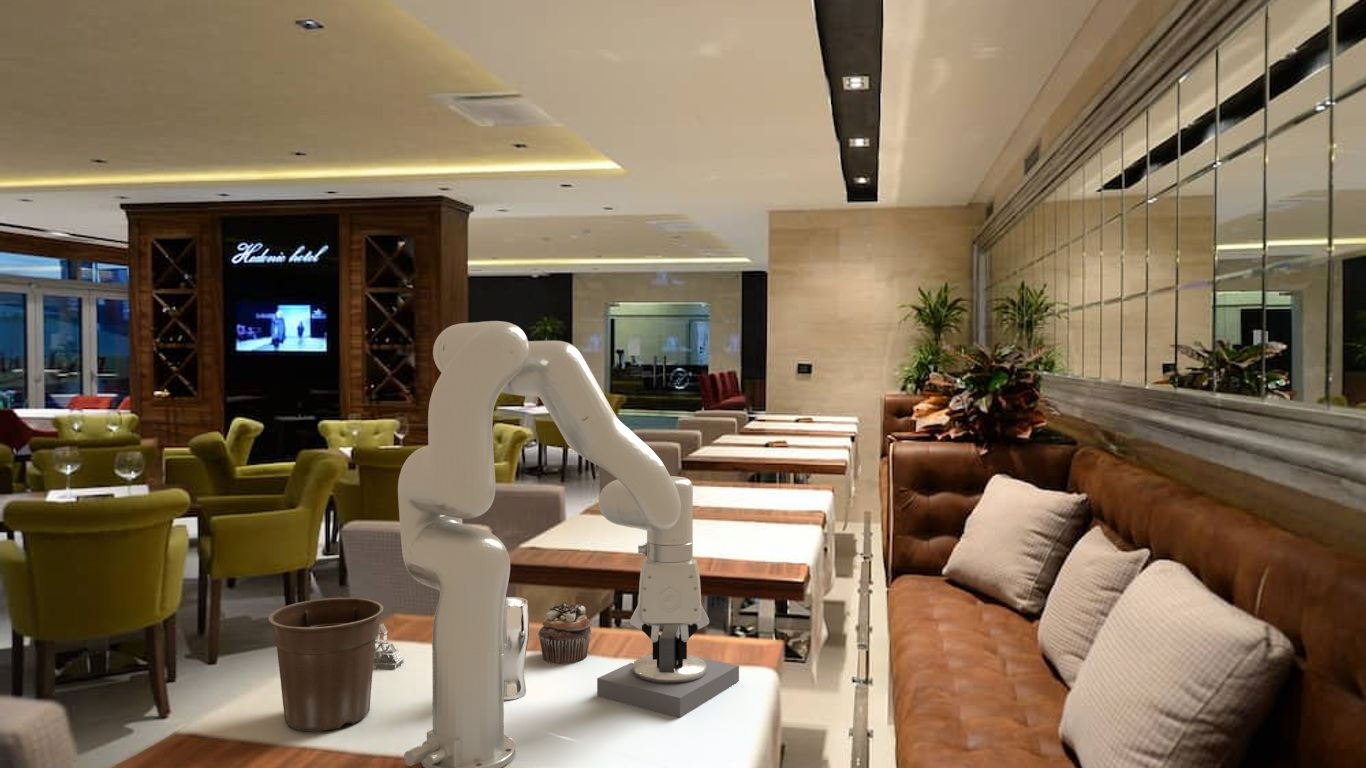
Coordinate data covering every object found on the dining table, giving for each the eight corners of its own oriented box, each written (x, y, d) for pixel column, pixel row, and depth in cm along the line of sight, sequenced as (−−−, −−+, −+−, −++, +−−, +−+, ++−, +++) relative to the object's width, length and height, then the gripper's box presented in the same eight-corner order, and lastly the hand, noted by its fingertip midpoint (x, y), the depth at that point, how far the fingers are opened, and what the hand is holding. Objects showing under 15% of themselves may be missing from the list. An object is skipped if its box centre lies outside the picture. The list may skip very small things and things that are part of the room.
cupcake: (596, 651, 172) (596, 598, 171) (583, 668, 162) (583, 612, 162) (547, 649, 173) (547, 596, 173) (531, 665, 164) (531, 609, 163)
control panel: (680, 717, 140) (680, 696, 139) (597, 696, 148) (597, 676, 148) (738, 683, 155) (739, 664, 155) (660, 666, 163) (660, 648, 163)
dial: (702, 684, 145) (703, 643, 145) (627, 681, 146) (627, 640, 146) (708, 660, 157) (708, 622, 157) (639, 657, 158) (639, 620, 158)
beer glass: (519, 703, 145) (519, 608, 145) (478, 699, 147) (478, 606, 146) (535, 688, 152) (535, 597, 152) (495, 685, 154) (495, 595, 153)
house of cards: (425, 657, 169) (424, 615, 169) (404, 672, 161) (404, 629, 161) (378, 654, 171) (378, 613, 170) (356, 670, 162) (355, 627, 162)
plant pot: (376, 733, 133) (376, 623, 133) (257, 742, 130) (256, 629, 130) (389, 694, 149) (388, 595, 149) (283, 701, 146) (282, 600, 146)
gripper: (619, 557, 147) (619, 671, 147) (721, 556, 147) (720, 670, 148) (620, 548, 154) (620, 656, 155) (717, 547, 155) (717, 656, 155)
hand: (669, 662), depth 151 cm, fingers closed on dial, 3 cm apart
